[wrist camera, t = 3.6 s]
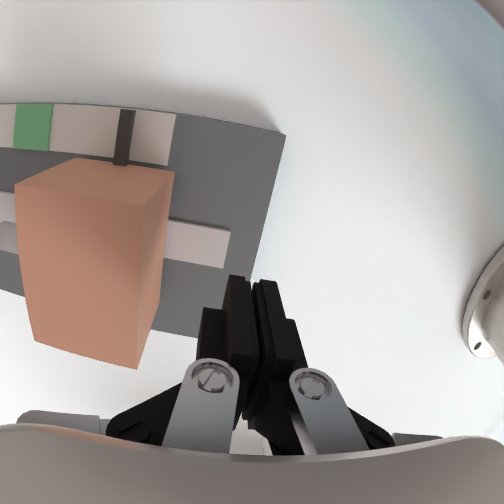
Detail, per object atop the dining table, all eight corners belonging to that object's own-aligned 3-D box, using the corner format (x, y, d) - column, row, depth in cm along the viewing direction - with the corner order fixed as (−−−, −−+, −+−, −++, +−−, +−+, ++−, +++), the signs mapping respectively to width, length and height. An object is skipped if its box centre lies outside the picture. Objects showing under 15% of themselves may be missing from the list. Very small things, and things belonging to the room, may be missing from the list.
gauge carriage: (185, 116, 13) (156, 121, 8) (159, 302, 16) (136, 369, 12) (33, 104, 12) (-35, 113, 7) (33, 273, 15) (-12, 323, 11)
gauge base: (281, 133, 15) (339, 167, 6) (233, 328, 20) (233, 462, 11) (-59, 108, 12) (-155, 137, 3) (-50, 257, 17) (-120, 321, 8)
